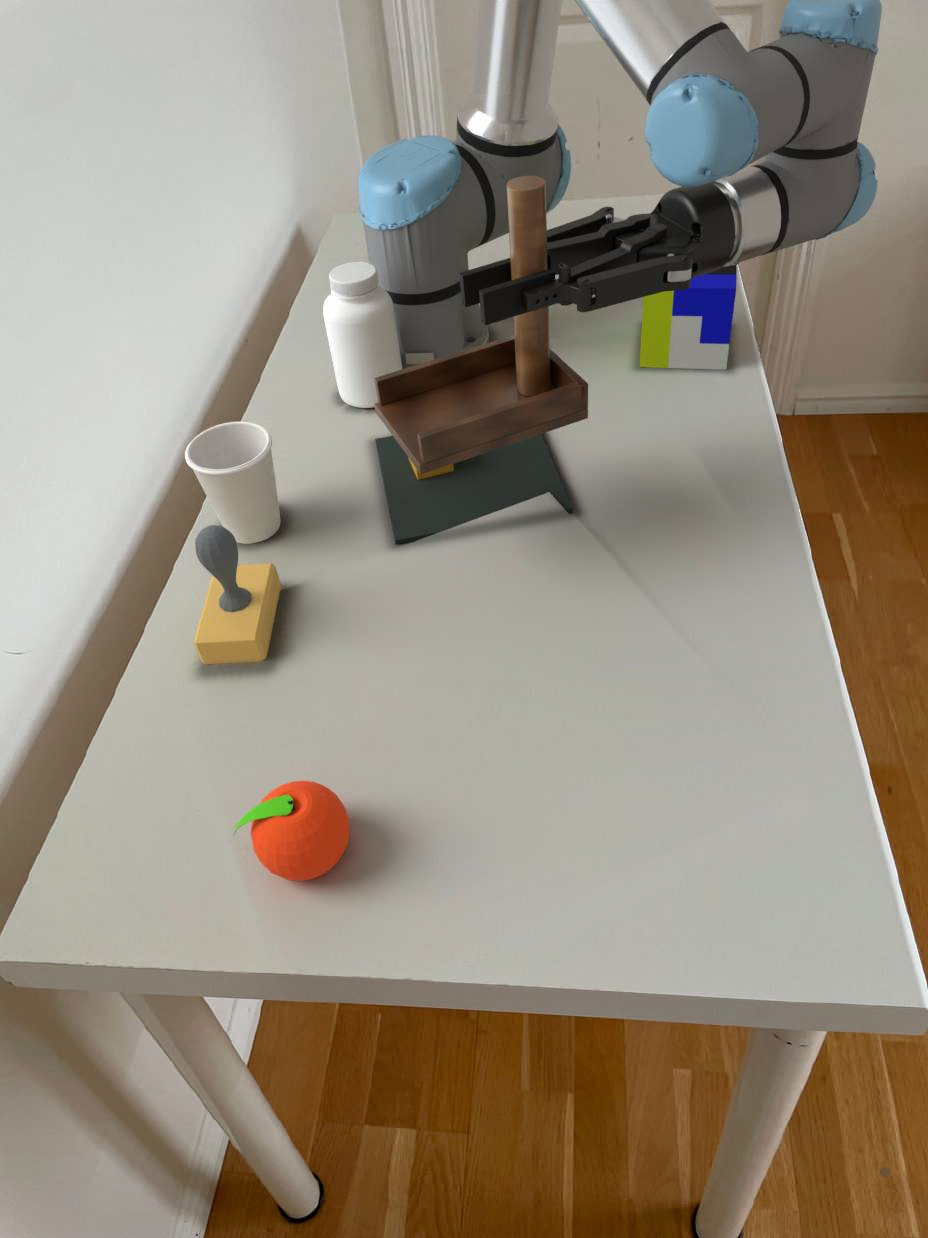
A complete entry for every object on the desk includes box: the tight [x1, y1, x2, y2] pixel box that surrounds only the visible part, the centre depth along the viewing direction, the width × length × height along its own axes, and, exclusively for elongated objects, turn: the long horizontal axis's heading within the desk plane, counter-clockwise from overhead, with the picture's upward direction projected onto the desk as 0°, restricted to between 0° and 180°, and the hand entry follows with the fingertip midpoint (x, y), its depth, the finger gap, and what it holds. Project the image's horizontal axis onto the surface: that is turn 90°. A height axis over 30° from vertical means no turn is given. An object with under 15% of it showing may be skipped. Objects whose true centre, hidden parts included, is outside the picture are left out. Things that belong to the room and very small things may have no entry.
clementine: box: [233, 780, 350, 882], centre depth 66 cm, size 8×7×7 cm
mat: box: [374, 434, 574, 545], centre depth 99 cm, size 18×18×1 cm
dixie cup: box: [184, 421, 282, 545], centre depth 93 cm, size 8×8×10 cm
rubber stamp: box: [193, 524, 283, 665], centre depth 82 cm, size 10×6×12 cm, turn 0°
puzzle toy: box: [639, 265, 738, 371], centre depth 111 cm, size 10×10×10 cm
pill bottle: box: [322, 261, 402, 409], centre depth 108 cm, size 8×8×15 cm
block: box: [408, 457, 454, 480], centre depth 99 cm, size 4×4×4 cm
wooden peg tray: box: [374, 176, 589, 474], centre depth 77 cm, size 16×11×19 cm
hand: (472, 298), depth 76 cm, fingers closed on wooden peg tray, 3 cm apart
